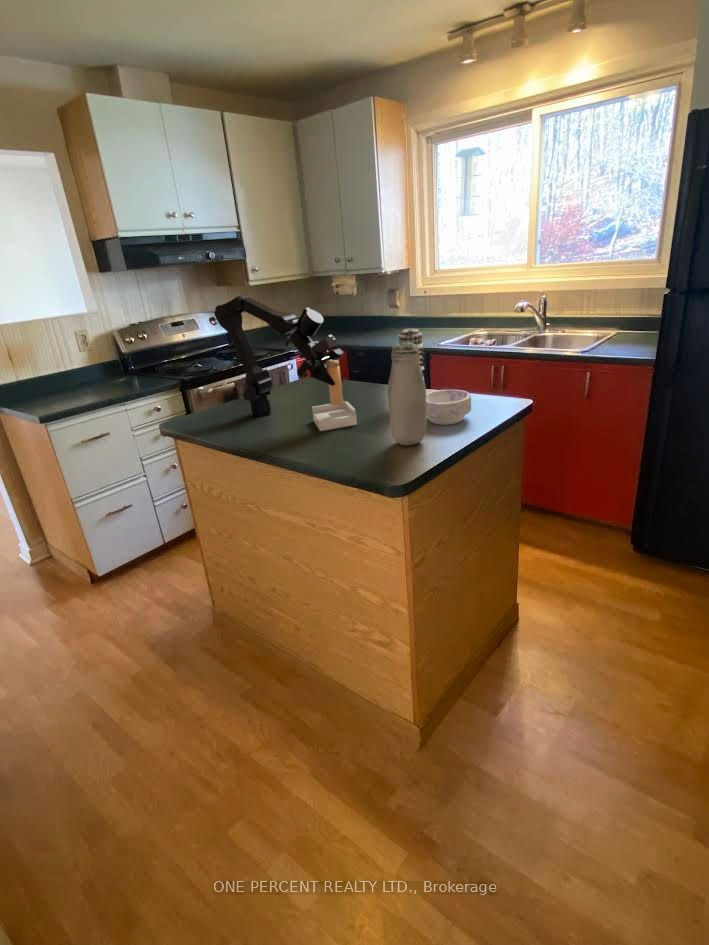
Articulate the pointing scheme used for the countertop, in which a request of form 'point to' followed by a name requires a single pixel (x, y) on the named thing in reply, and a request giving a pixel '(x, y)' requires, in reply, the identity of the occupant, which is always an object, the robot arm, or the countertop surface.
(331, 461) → the countertop surface
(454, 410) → the paper bowls
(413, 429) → the light grey bottle
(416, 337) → the decorative candle
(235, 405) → the countertop surface
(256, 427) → the countertop surface
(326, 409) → the housing
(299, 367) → the robot arm
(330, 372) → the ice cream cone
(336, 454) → the countertop surface
